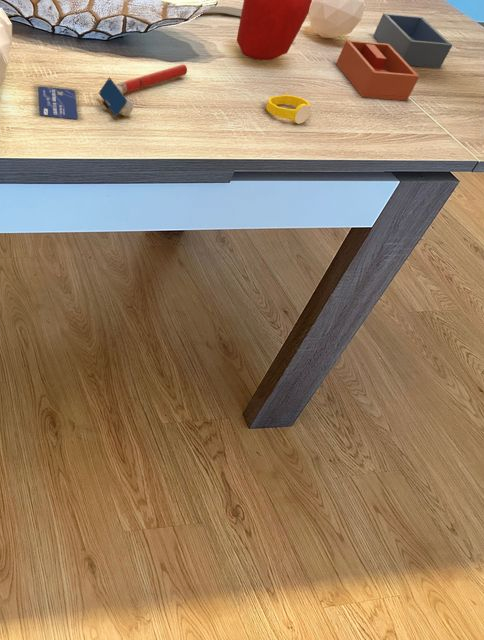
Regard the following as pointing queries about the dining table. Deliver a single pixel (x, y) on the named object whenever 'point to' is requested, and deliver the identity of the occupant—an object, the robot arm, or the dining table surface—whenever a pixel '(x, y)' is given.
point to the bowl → (4, 43)
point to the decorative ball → (335, 16)
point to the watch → (296, 114)
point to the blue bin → (413, 39)
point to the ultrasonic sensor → (115, 99)
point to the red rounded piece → (270, 26)
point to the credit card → (57, 102)
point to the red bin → (377, 72)
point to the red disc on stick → (374, 57)
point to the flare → (152, 78)
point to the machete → (226, 10)
